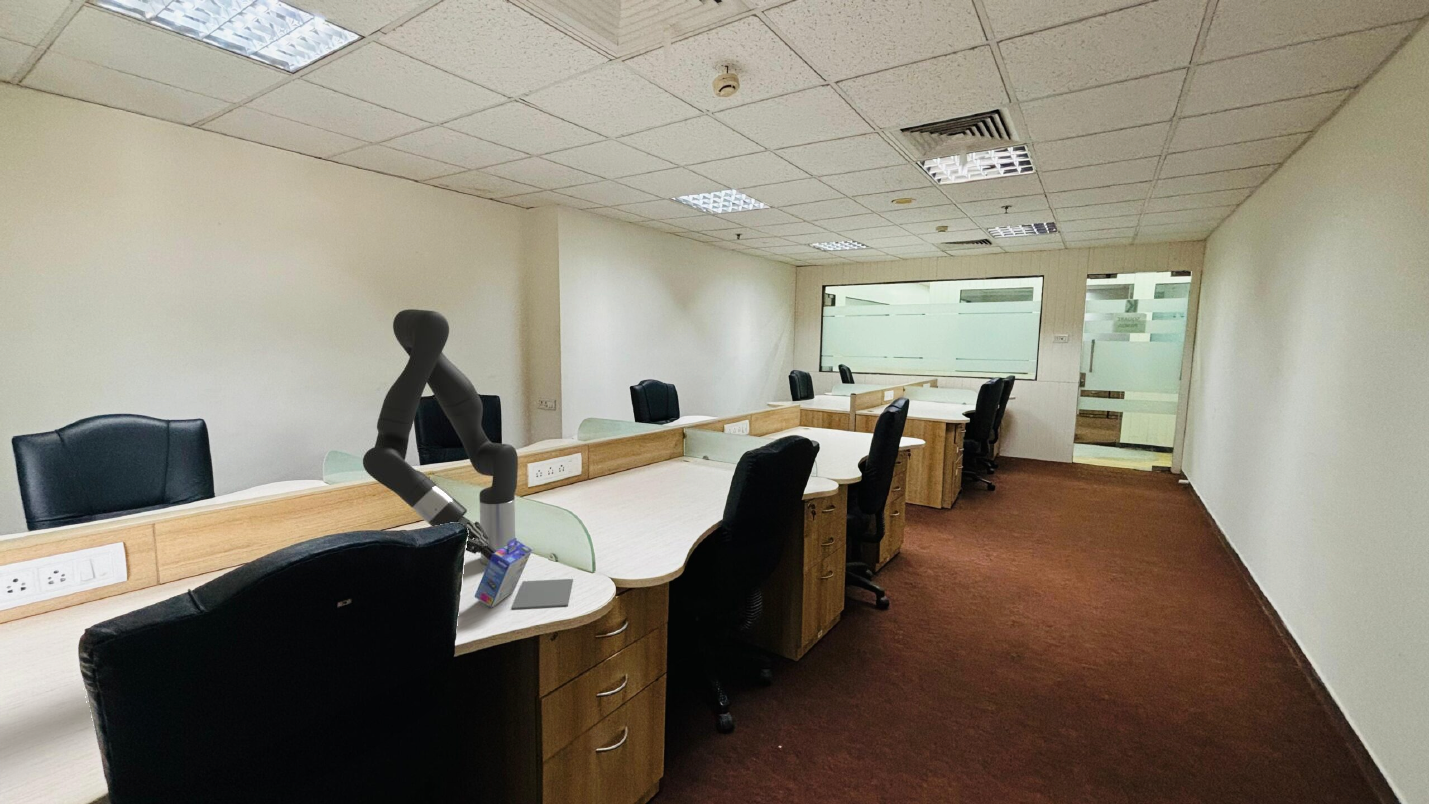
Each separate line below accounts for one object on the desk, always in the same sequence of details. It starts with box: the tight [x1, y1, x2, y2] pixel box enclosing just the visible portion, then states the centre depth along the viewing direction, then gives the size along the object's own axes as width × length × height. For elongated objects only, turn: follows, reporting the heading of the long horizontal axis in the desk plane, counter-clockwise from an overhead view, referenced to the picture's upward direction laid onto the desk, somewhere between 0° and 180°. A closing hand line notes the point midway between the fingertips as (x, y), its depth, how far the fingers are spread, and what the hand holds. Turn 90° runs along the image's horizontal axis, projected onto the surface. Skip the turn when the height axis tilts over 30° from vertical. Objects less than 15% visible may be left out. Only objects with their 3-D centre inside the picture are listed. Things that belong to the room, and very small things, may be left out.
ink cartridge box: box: [474, 537, 533, 608], centre depth 133 cm, size 10×6×14 cm, turn 168°
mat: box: [511, 578, 574, 610], centre depth 137 cm, size 15×12×1 cm
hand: (496, 558), depth 133 cm, fingers closed
